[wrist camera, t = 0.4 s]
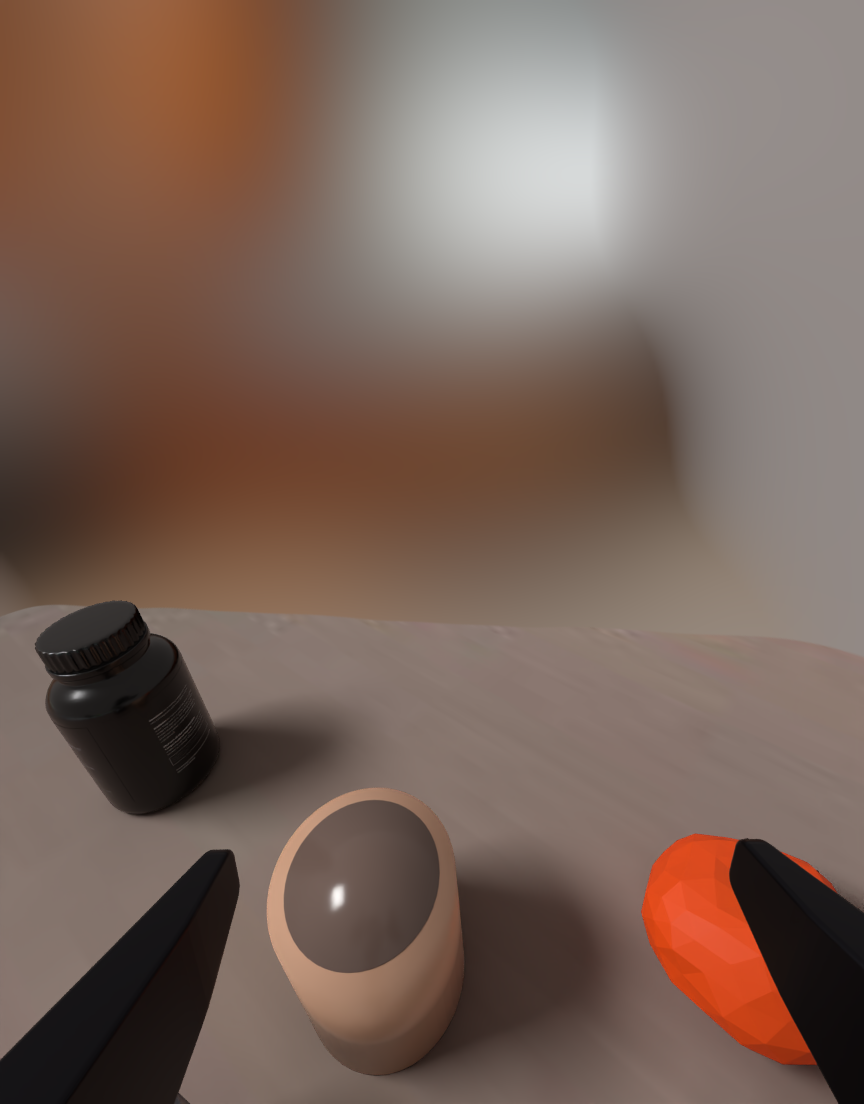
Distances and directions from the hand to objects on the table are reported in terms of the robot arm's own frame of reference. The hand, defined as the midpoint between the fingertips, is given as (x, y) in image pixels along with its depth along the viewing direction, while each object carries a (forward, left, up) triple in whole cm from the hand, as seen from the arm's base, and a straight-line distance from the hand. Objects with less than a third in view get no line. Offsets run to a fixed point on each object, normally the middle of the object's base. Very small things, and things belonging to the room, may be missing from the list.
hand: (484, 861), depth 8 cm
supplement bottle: (+15, +20, -17) cm, 30 cm away
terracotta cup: (+5, +4, -17) cm, 18 cm away
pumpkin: (+5, -11, -17) cm, 21 cm away
